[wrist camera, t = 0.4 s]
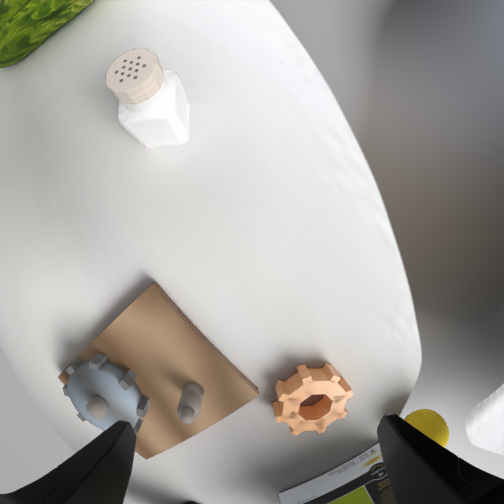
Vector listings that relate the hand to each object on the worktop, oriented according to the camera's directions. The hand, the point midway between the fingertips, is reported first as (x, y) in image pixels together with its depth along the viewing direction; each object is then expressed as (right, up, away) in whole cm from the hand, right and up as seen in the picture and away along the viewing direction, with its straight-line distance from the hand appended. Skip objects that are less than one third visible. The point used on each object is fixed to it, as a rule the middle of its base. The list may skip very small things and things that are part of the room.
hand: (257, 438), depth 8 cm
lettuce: (-25, +37, +11) cm, 46 cm away
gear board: (-10, -6, +15) cm, 19 cm away
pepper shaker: (-7, +17, +13) cm, 23 cm away
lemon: (+19, -14, +17) cm, 28 cm away
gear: (+5, -7, +15) cm, 18 cm away
